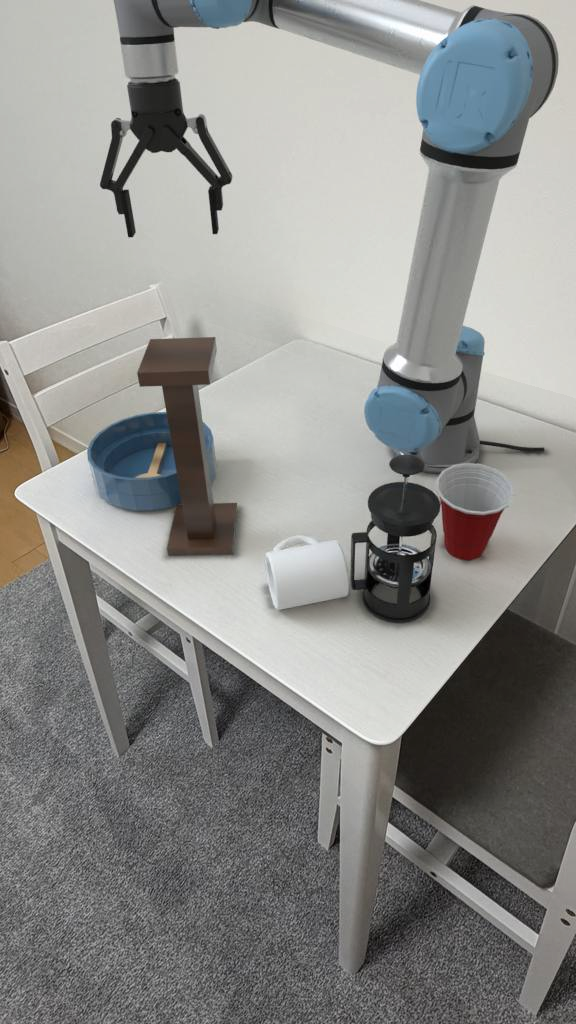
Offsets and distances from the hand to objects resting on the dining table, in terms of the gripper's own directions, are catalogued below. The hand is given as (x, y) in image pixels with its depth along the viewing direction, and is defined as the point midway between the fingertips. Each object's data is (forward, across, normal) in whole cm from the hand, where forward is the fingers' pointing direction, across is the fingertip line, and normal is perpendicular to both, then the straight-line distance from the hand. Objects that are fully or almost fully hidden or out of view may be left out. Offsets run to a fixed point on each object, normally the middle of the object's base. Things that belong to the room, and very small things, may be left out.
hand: (173, 233), depth 111 cm
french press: (+37, -32, +47) cm, 68 cm away
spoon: (+36, +6, +16) cm, 40 cm away
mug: (+37, -20, +44) cm, 61 cm away
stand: (+37, -4, +32) cm, 49 cm away
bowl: (+37, +6, +16) cm, 40 cm away
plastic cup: (+37, -44, +37) cm, 68 cm away
